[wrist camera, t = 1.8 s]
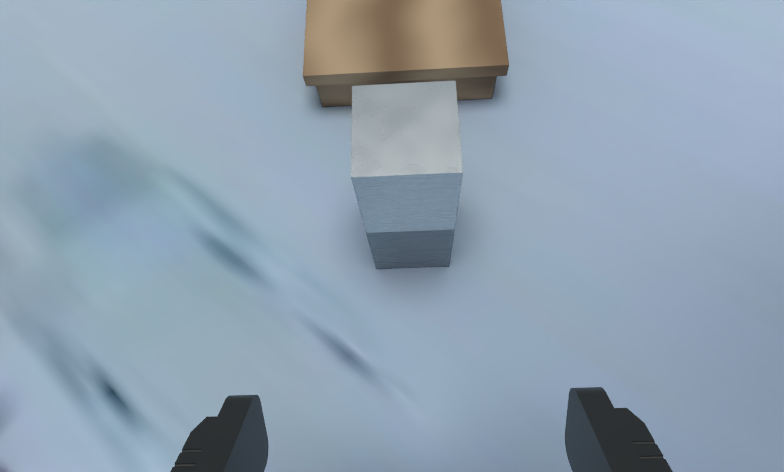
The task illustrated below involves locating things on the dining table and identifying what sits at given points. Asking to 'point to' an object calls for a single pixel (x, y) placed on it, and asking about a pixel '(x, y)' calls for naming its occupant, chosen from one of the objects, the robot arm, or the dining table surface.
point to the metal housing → (407, 170)
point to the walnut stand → (403, 45)
